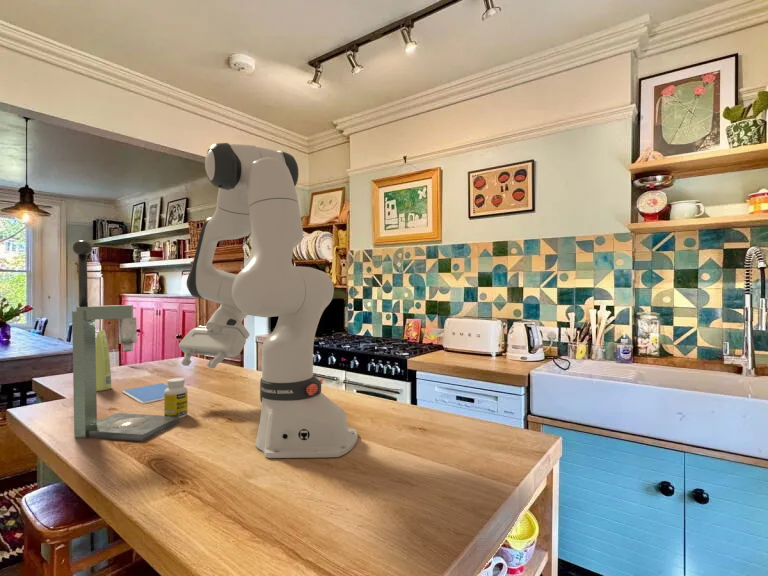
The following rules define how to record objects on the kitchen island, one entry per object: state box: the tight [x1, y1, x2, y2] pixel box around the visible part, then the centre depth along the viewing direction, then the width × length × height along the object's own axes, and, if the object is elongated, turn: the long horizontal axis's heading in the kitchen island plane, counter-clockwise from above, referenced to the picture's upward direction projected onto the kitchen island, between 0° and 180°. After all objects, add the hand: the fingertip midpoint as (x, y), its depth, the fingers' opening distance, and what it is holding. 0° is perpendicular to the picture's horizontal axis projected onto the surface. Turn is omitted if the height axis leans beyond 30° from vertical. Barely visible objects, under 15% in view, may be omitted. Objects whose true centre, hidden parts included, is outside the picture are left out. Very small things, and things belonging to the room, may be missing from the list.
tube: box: [95, 329, 112, 392], centre depth 133 cm, size 6×5×20 cm
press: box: [71, 240, 180, 442], centre depth 96 cm, size 18×13×45 cm
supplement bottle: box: [163, 377, 188, 419], centre depth 105 cm, size 5×5×10 cm
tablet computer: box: [122, 383, 168, 405], centre depth 127 cm, size 19×13×1 cm, turn 49°
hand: (197, 365), depth 112 cm, fingers open, 8 cm apart
